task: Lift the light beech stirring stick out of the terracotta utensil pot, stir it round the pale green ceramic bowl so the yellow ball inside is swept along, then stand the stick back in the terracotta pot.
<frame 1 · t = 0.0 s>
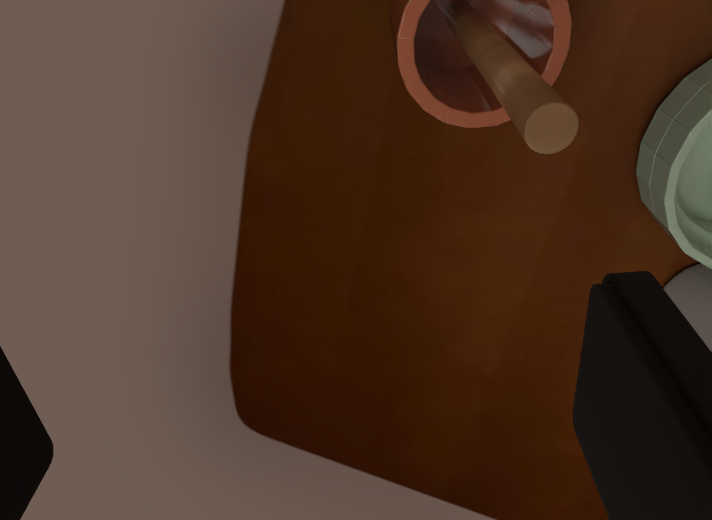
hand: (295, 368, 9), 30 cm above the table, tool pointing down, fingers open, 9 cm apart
cup: (696, 309, 46), on the table
stirring stick: (458, 13, 34), resting on utensil pot
utensil pot: (456, 11, 35), on the table
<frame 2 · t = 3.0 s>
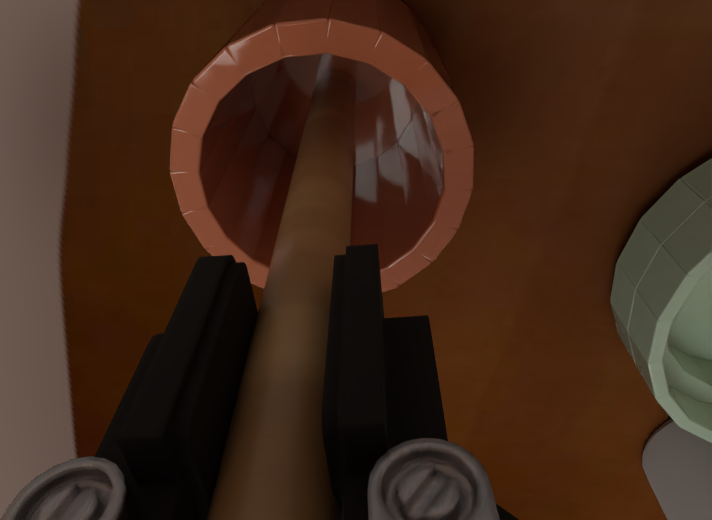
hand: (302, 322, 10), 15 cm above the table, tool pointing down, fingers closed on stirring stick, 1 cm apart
cup: (696, 458, 35), on the table
stirring stick: (335, 89, 23), point 1 cm above the table, touching gripper, utensil pot
utensil pot: (335, 86, 23), on the table
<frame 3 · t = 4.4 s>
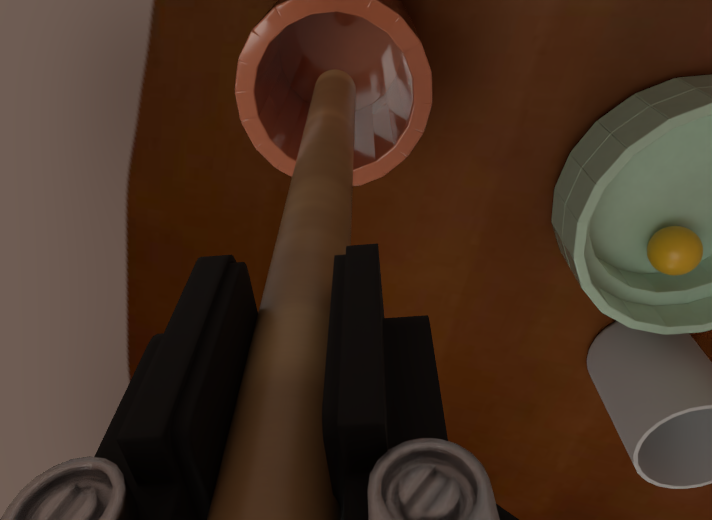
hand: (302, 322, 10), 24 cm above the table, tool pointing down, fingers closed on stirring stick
bowl: (667, 191, 35), on the table
cup: (631, 363, 43), on the table
stirring stick: (335, 89, 23), point 10 cm above the table, touching gripper
ball: (674, 250, 35), point 2 cm above the table, touching bowl
utensil pot: (340, 50, 31), on the table
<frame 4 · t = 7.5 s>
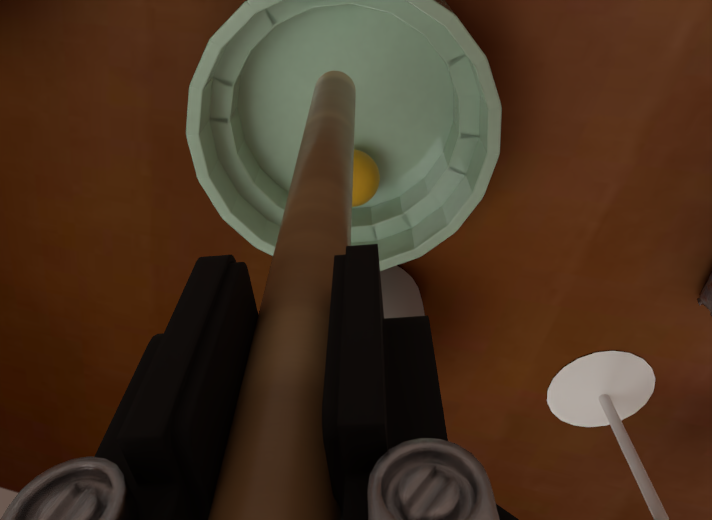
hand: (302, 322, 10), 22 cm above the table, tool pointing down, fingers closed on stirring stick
wineglass: (599, 388, 42), on the table
bowl: (346, 109, 31), on the table
cup: (368, 316, 38), on the table
stirring stick: (335, 91, 23), point 8 cm above the table, touching gripper
ball: (351, 178, 31), point 2 cm above the table, touching bowl
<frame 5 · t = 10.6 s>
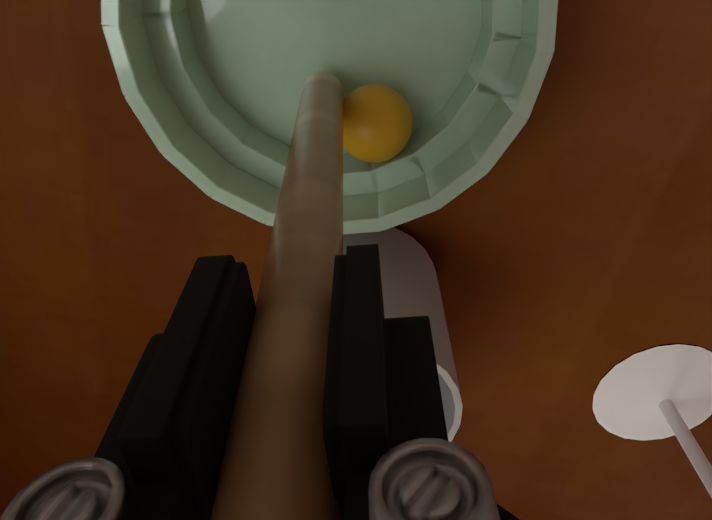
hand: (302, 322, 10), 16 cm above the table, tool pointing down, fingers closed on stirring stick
wineglass: (658, 392, 33), on the table
bowl: (335, 12, 23), on the table
cup: (368, 300, 30), on the table
stirring stick: (323, 92, 23), point 2 cm above the table, touching ball, gripper
ball: (373, 124, 23), point 2 cm above the table, tilted 52°, touching bowl, stirring stick
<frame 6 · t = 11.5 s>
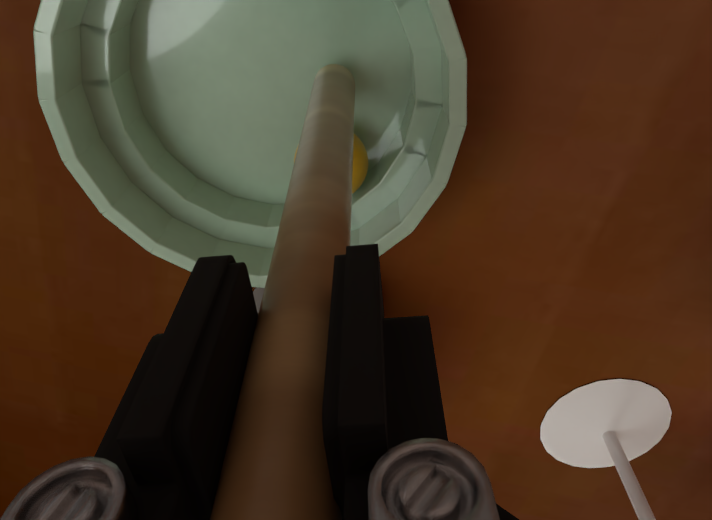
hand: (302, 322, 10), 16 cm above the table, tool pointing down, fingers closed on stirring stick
wineglass: (603, 423, 34), on the table
bowl: (273, 74, 24), on the table
stirring stick: (334, 84, 22), point 2 cm above the table, touching gripper
ball: (331, 163, 24), point 2 cm above the table, tilted 42°, touching bowl
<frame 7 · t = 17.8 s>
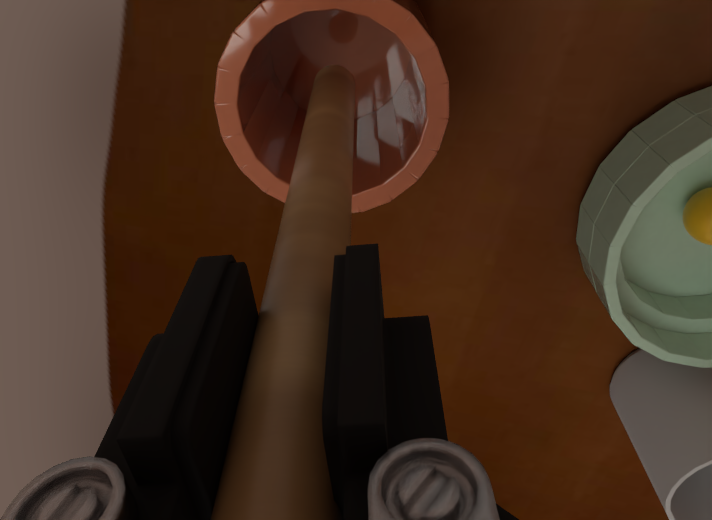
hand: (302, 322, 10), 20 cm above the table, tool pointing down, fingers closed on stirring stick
bowl: (706, 206, 32), on the table
cup: (658, 390, 39), on the table
stirring stick: (334, 85, 22), point 6 cm above the table, touching gripper
utensil pot: (340, 50, 27), on the table
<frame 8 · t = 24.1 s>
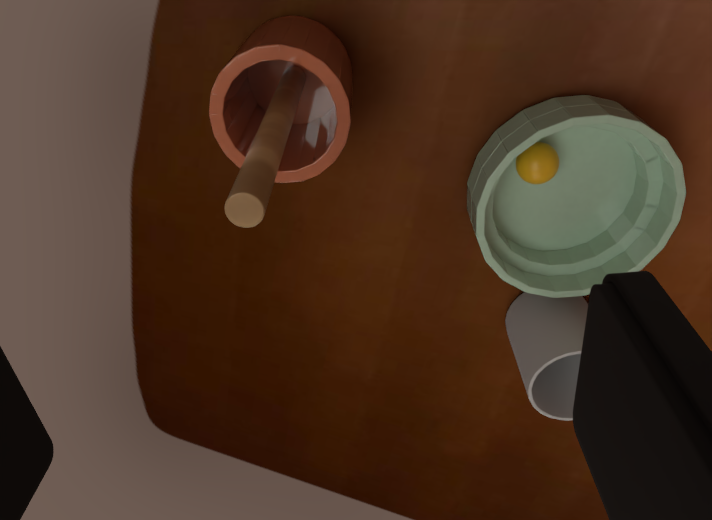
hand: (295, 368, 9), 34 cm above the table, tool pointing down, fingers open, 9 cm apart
bowl: (558, 184, 45), on the table
cup: (543, 325, 52), on the table
stirring stick: (294, 77, 40), resting on utensil pot
ball: (537, 163, 42), point 2 cm above the table, tilted 110°, touching bowl
utensil pot: (295, 76, 41), on the table
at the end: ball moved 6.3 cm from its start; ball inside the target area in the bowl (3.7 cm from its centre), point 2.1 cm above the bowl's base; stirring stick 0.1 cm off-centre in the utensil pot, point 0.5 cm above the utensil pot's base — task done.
